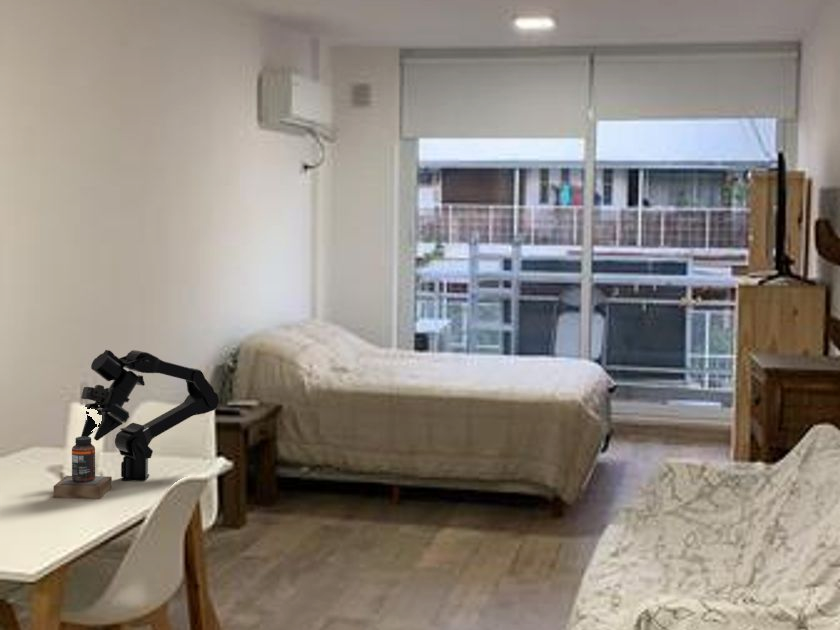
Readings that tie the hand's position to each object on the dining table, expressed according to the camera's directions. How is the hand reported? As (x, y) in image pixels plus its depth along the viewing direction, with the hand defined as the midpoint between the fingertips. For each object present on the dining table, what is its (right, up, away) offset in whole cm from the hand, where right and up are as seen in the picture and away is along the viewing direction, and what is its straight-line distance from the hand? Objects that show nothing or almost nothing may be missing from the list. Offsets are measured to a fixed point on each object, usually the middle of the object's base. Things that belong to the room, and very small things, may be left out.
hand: (88, 439), depth 301 cm
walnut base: (0, -13, -5) cm, 14 cm away
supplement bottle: (0, -10, -6) cm, 12 cm away
